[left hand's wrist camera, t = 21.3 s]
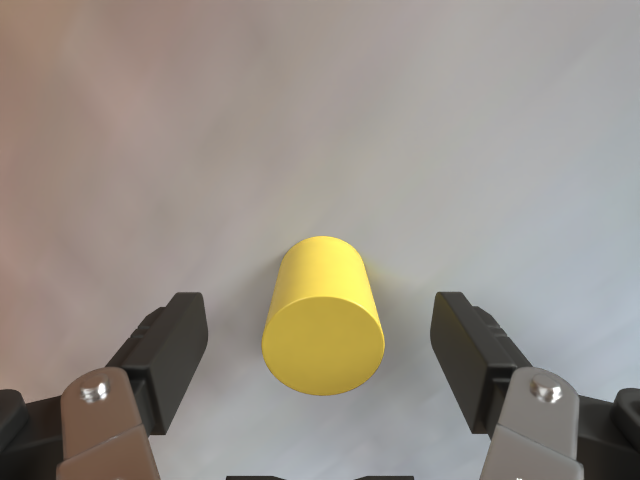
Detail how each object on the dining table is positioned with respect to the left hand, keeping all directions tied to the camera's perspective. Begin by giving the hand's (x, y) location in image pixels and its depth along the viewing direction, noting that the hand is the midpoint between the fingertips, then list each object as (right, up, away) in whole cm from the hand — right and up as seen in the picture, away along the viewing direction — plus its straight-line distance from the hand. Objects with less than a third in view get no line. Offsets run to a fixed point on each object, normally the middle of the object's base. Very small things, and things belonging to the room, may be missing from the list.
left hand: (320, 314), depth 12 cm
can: (0, +1, +3) cm, 3 cm away
